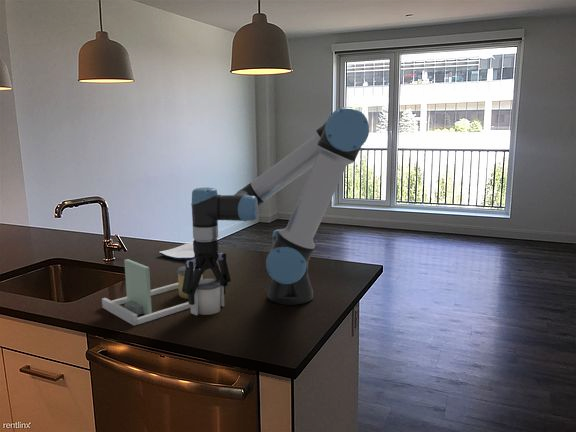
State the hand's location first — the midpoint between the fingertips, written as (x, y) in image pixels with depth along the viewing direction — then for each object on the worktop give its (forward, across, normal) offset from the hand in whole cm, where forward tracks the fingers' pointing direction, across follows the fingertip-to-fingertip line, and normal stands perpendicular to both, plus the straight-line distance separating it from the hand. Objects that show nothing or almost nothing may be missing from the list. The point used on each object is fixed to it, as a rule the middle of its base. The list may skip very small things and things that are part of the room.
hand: (207, 309), depth 149 cm
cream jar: (0, 0, 0) cm, 0 cm away
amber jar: (0, -4, -15) cm, 16 cm away
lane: (0, +6, -15) cm, 16 cm away
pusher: (0, +16, -15) cm, 22 cm away
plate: (+1, -33, -58) cm, 67 cm away
